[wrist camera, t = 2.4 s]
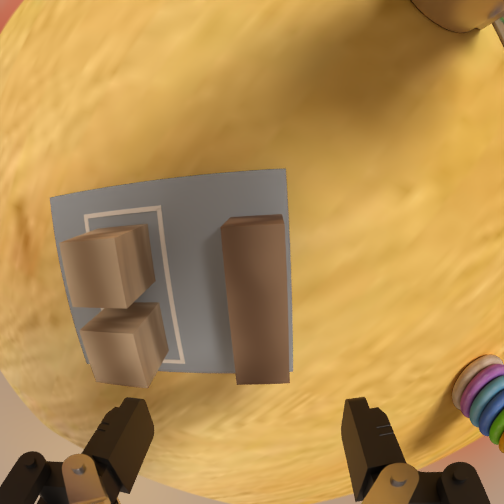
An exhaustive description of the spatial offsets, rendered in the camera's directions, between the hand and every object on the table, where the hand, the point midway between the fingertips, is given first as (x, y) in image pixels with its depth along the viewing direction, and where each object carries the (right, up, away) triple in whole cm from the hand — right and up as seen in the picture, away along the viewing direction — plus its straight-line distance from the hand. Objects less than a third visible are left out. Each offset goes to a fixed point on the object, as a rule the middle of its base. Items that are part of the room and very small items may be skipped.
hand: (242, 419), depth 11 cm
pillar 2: (-10, 0, +16) cm, 19 cm away
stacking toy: (+28, -9, +17) cm, 34 cm away
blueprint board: (-7, +4, +16) cm, 18 cm away
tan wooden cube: (-11, +6, +15) cm, 19 cm away
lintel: (+1, +4, +15) cm, 15 cm away
